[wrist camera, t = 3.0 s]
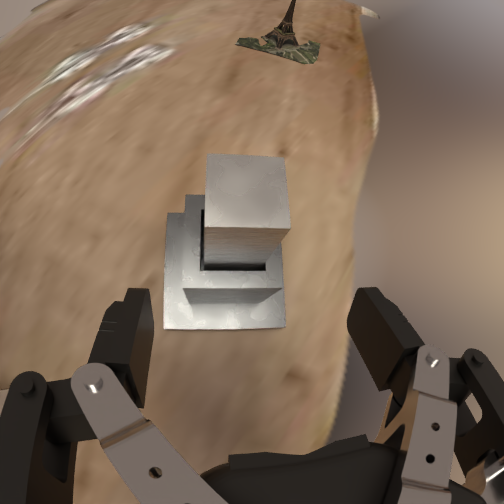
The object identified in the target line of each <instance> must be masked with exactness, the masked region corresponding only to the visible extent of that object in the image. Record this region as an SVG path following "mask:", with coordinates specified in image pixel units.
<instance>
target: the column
mask: <svg viewBox="0 0 504 504" xmlns="http://www.w3.org/2000/svg"><path fill="white" fill-rule="evenodd" d="M290 229H291V223H290V212H289V201H288V190H287V180H286V171H285V161H284V158H281V157H268V156H252V155H233V154H207V166H206V191H205V227H204V271H259V270H260V268H261V267H262V266H263V264H264V263H265V262H266V260H267V259H268V258H269V257H270V255H271V254H272V253H273V251H274V250H275V249H276V247H277V246H278V245H279V244H280V242H281V241H282V240H283V238H284V237H285V236H286V234H287V233H288V232H289V230H290Z"/></svg>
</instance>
